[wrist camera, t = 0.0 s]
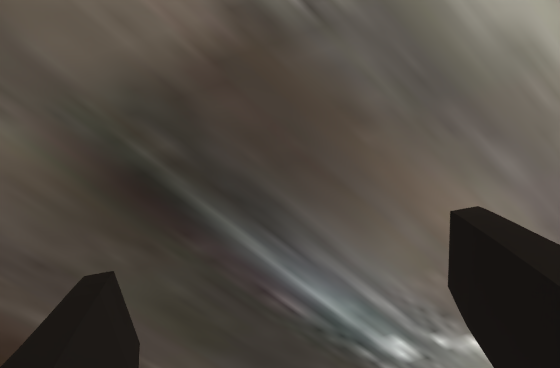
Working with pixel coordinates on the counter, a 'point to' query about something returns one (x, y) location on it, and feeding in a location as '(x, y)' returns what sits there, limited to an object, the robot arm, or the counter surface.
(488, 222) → the robot arm
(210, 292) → the counter surface
